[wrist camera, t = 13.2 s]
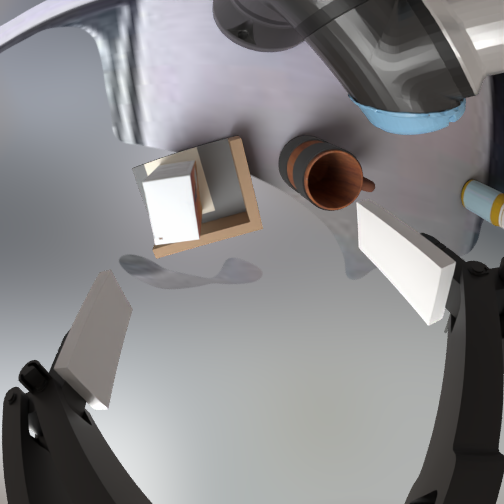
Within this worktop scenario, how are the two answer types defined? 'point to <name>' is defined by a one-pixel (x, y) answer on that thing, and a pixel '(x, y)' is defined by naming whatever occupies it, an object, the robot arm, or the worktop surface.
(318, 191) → the mug
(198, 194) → the small box
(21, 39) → the worktop surface
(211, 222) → the brown piece
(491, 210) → the bottle
